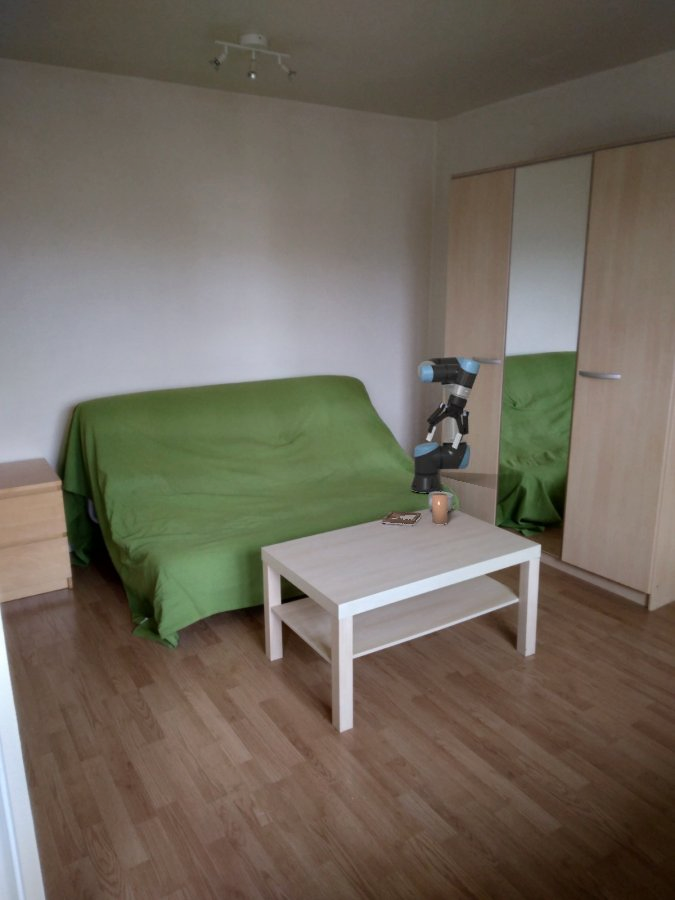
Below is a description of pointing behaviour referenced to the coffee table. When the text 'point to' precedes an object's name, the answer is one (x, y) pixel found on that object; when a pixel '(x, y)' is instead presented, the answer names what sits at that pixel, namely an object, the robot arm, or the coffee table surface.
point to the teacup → (449, 499)
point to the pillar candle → (439, 508)
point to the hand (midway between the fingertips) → (441, 444)
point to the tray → (397, 514)
